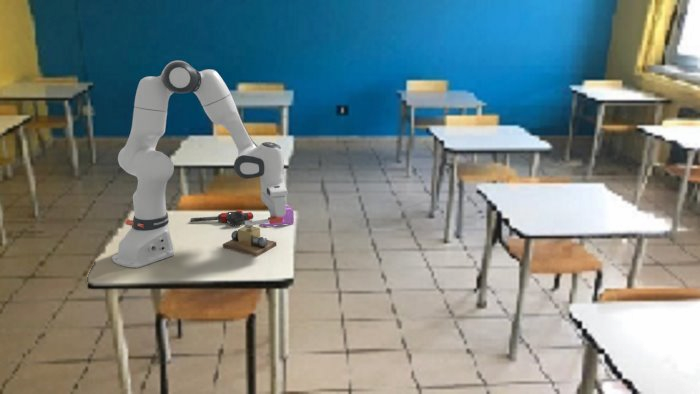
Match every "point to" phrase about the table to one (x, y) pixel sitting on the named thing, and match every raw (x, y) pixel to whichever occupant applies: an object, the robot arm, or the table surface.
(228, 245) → the walnut board
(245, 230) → the ball valve
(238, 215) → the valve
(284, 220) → the bracket
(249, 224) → the valve lever
